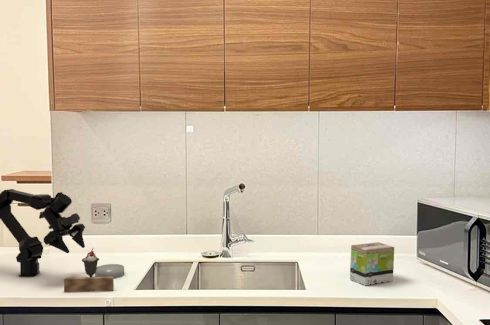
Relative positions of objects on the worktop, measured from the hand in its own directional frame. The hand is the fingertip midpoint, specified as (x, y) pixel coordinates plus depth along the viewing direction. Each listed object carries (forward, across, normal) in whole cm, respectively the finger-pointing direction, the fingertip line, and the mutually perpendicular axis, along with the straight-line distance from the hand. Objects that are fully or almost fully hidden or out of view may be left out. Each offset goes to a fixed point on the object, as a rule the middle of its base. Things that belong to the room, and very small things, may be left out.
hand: (76, 249), depth 193 cm
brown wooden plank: (+18, -7, 0) cm, 19 cm away
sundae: (+15, -1, +3) cm, 15 cm away
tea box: (+86, +46, -73) cm, 121 cm away
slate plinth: (+14, +12, +4) cm, 19 cm away
